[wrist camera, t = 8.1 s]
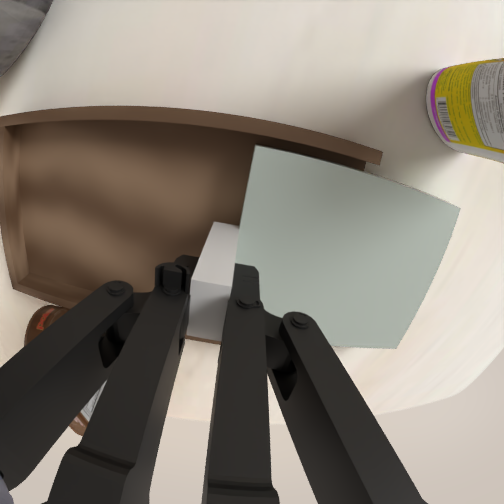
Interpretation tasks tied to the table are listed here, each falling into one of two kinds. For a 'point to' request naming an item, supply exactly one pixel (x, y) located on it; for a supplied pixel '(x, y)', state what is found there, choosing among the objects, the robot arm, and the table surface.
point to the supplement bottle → (469, 107)
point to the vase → (18, 27)
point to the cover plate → (341, 245)
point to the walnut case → (129, 190)
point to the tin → (38, 325)
